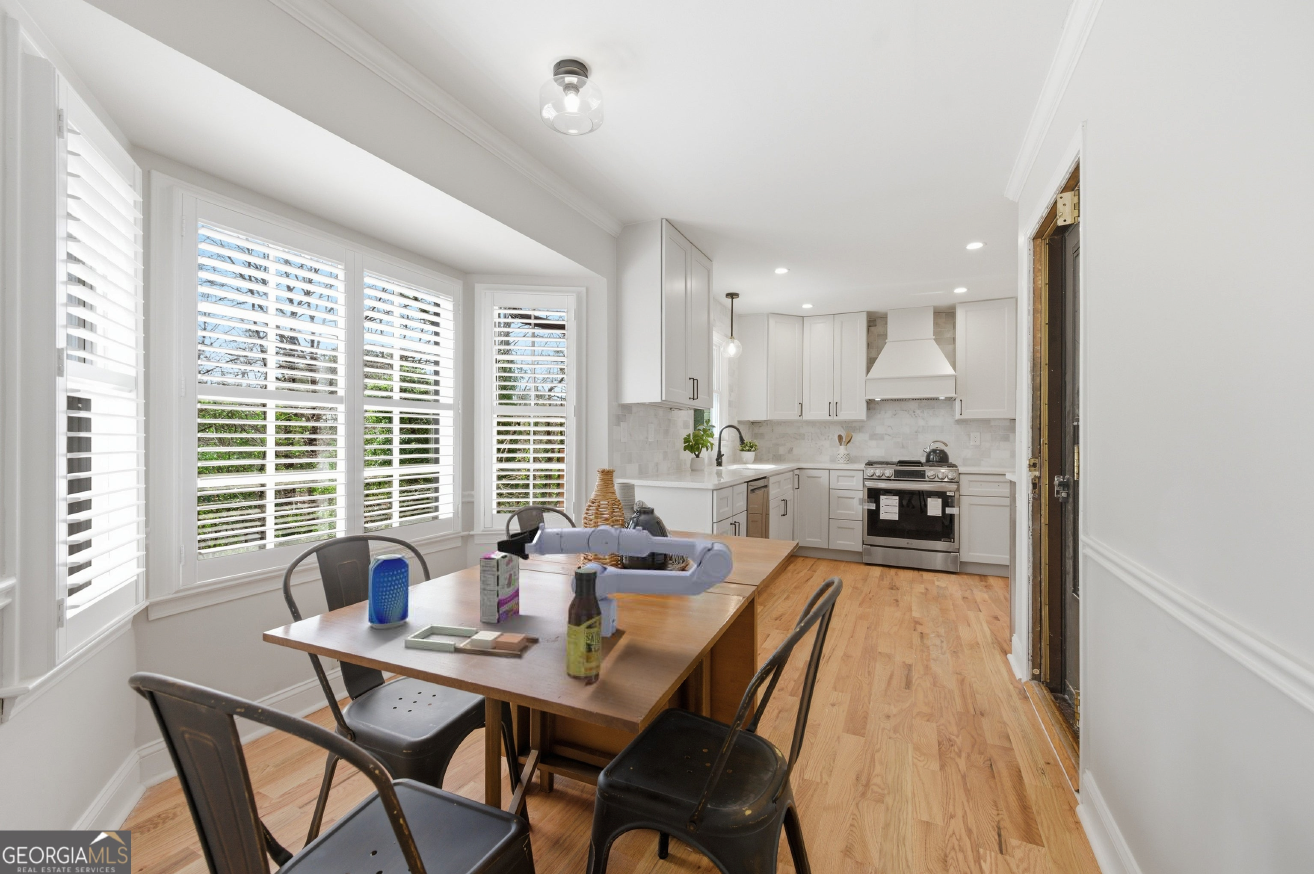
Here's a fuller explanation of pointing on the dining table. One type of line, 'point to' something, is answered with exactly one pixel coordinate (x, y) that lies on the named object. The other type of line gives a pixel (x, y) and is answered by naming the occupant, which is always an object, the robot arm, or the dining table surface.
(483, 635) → the tile
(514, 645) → the tile
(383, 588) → the beer can
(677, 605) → the dining table surface
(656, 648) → the dining table surface
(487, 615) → the candy bar box
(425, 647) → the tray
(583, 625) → the sauce bottle
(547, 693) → the dining table surface
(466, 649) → the board
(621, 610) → the dining table surface
